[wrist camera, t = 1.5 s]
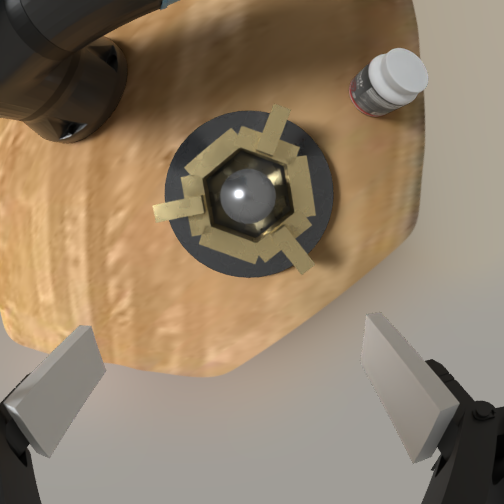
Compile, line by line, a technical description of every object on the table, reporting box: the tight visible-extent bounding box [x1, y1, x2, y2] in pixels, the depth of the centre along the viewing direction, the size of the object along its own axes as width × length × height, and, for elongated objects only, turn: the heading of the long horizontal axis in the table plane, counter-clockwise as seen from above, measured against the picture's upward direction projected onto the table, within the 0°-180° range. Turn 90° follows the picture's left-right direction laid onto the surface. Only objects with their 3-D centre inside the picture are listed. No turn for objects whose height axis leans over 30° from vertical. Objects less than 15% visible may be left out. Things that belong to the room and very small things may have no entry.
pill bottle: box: [349, 48, 428, 117], centre depth 23 cm, size 6×6×10 cm
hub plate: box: [165, 111, 333, 278], centre depth 30 cm, size 18×18×2 cm
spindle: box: [220, 169, 276, 224], centre depth 27 cm, size 5×5×8 cm
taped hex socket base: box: [153, 104, 316, 275], centre depth 27 cm, size 15×16×4 cm
